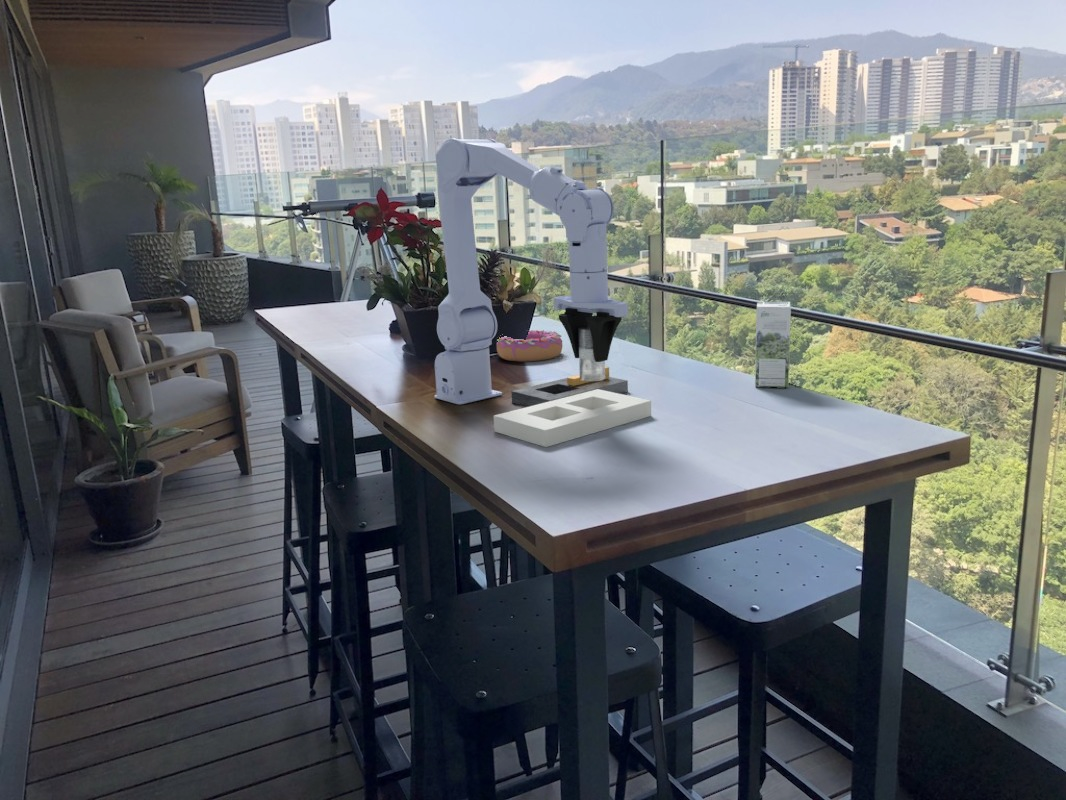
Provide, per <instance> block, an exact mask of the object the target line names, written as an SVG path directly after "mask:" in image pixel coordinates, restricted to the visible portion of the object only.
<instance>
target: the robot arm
mask: <svg viewBox="0 0 1066 800" xmlns="http://www.w3.org/2000/svg"><path fill="white" fill-rule="evenodd" d="M435 163H436V171H437V178H438V179H437V180H438V182H437V183H438V184H437V196H438V198H437V199H438V205H439V206H438V207H439V215H440V224H441V225H440V226H441V233H442V240H443V249H444V259H445V268H446V277H447V288H448V294H447V295H446V296H445V297H444V298H443V300H442V301H441V302H440V304H439V305H438V306H437V310H438V311H437V312H438V319H437V323H436V333H437V336H438V340H439V341H440V343H441V345H443V346H444V349H445V351H443V352H440V353H438V354H437V355H436V357H435V360H434V374H435V376H434V377H435V378H434V379H435V388H436V389H435V390H436V394H435V395H434V399H438V400H442V401H445V402H448V403H452V404H455V405H464V404H468V403H472V402H477V401H481V400H486V399H490V398H495V397H498V396H502V395H503V392H502V391H499V390H494V389H492V388H493V387H492V376H491V375H492V374H491V373H492V372H491V358H490V357H491V356H490V346H491V345H492V344H493V343H492V342H493V341H492V340H493V339H494V338H495V337H496V334H497V332H498V321H497V317H496V315H495V312H494V310H493V306H492V305H493V304H492V299H491V298H490V297H489V296H487V294H485V293H484V292H483V291H482V290H481V284H480V275H479V264H478V255H477V247H476V236H475V226H474V224H475V223H474V216H473V207H472V198H473V197H474V195H475V194H476V193H477V191H478V190H479V189H480V188H482V187H483V186H484V185H486V184H488V183H489V182H490V181H491V180H493V179H494V178H495V177H497V176H498V175H499V176H502V177H504V178H506V179H508V180H510V181H512V182H514V183H515V184H517V185H520V186H522V187H523V188H525V189H528V192H529V197H530V199H531V200H532V201H533V202H535V203H536V204H538V205H540V206H542V207H543V208H545V209H547V210H549V211H550V212H552V213H553V214H555V215H557V216H559V219H560V222H561V223H562V225H563V226H564V229H565V237H566V238H567V241H568V255H569V256H568V259H569V261H568V262H569V286H570V288H569V289H570V294H569V295H570V296H568V295H567V296H566V295H560V296H555V297H554V296H553V310H556V311H557V310H558V311H560V310H565V311H564V313H560V314H558V319H559V321H560V323H561V324H562V326H563V327H564V329H565V331H566V334H567V336H568V339H569V341H570V345H571V349H572V352H573V354H574V355H573V356H574V359H579V340H578V328H579V327H582V326H589V328H590V331H591V335H592V340H593V352H594V359H595V362H601V361H605V362H606V361H608V360H609V356H610V355H609V354H610V350H611V346H612V342H613V339H614V336H615V333H616V331H617V329H618V327H619V325H620V323H621V321H622V318H623V317H627V316H629V303H628V302H625V301H619V300H616V299H612V297H611V296H609V288H608V287H609V286H608V284H609V283H608V282H609V281H608V279H609V277H608V239H607V238H608V237H607V233H608V232H607V225H608V224H609V223H610V222H611V221H612V218H613V216H614V211H615V207H614V202H613V199H612V197H611V196H610V194H609V193H608V192H607V191H605V190H604V189H603V188H602V187H594V188H591V189H588V187H587V186H586V183H585V182H584V181H583V180H581V179H580V180H574V179H573V178H571V177H569V176H567V175H565V173H563V171H564V169H563V168H562V167H560V166H546V167H543V168H541V169H540V168H538V167H536V166H535V165H533V164H532V163H530V162H528V161H527V160H526V159H524V158H523V157H521V156H520V155H518V154H516V153H515V152H514V151H512V150H510V149H508V148H507V146H506V144H505V143H503V142H498V141H497V140H496V139H493V138H484V139H473V138H471V139H470V138H469V139H458V138H452V137H451V138H449V139H446V140H445V141H444V142H443V143H442V145H440V148H439V150H438V151H437V153H436V154H435ZM593 314H596V315H593Z"/></svg>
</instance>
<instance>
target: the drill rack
mask: <svg viewBox="0 0 1066 800" xmlns="http://www.w3.org/2000/svg"><path fill="white" fill-rule="evenodd" d="M649 417H652V400H649V399H645V398H640V397H636V396H632V395H628V394H627V395H626V394H624V393H621V394H618V393H614V392H609V391H604V390H600V389H596V390H592V391H588V392H585V393H581V394H577V395H573V396H569V397H565V398H561V399H557V400H553V401H549V402H545V403H541V404H537V405H533V406H530V407H528V406H525V407H523V408H518V409H514V410H510V411H506V412H503V413H498V414H495V415H493V428H494V430H493V431H494V432H495V433H499V434H501V435H505V436H508V437H512V438H515V439H517V440H521V441H524V442H528V443H531V444H533V445H537V446H541V447H544V448H547V447H550V446H555V445H557V444H561V443H565V442H568V441H571V440H576V439H578V438H582V437H584V436H585V437H586V436H588V435H592V434H594V433H599V432H601V431H605V430H608V429H609V430H610V429H612V428H615V427H619V426H622V425H624V424H625V425H626V424H628V423H632V422H635V421H639V420H642V419H645V418H649Z"/></svg>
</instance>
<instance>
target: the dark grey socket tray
mask: <svg viewBox="0 0 1066 800" xmlns="http://www.w3.org/2000/svg"><path fill="white" fill-rule="evenodd" d="M628 382H629V381H628V380H627V379H621V378H617V377H610V376H609V378H608V379H604V380H600V381H592V382H588V383H584V384H580V385H576V386H573V385H568V384H567V377H565V378H560V379H556V380H552V381H548V382H543V383H540V384H536V385H531V386H528V387H523V388H519V389H514V390H511V403H513V404H516V405H521V406H524V407H530V406H533V405H537V404H541V403H545V402H549V401H553V400H557V399H561V398H565V397H569V396H573V395H577V394H581V393H585V392H588V391H592V390H596V389H600V390H604V391H609V392H614V393H618V394H624V393H628V392H629V387H628V385H629V383H628Z"/></svg>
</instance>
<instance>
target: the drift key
mask: <svg viewBox="0 0 1066 800" xmlns="http://www.w3.org/2000/svg"><path fill="white" fill-rule="evenodd" d="M609 377H610V367H609V366H605V379H608V378H609ZM566 378H567V384H568V385H573V386H576V385H580V384H584V383H588V382H592V381H583V380H580V374H576V375H572V376H569V377H566Z"/></svg>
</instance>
